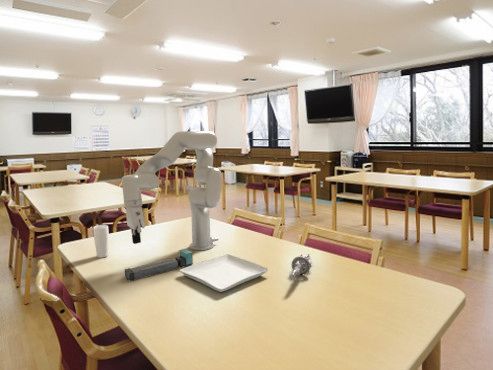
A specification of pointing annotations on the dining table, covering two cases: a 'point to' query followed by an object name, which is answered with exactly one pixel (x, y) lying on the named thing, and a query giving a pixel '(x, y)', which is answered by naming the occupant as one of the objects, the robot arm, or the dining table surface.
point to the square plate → (224, 272)
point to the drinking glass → (101, 240)
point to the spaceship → (300, 265)
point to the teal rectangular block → (186, 256)
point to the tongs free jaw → (146, 265)
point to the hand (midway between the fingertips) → (136, 242)
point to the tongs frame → (156, 268)
